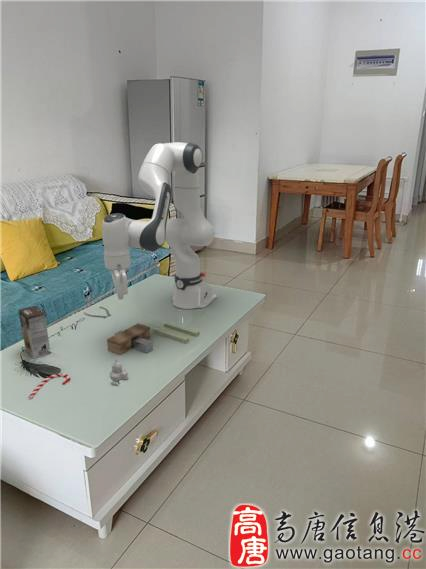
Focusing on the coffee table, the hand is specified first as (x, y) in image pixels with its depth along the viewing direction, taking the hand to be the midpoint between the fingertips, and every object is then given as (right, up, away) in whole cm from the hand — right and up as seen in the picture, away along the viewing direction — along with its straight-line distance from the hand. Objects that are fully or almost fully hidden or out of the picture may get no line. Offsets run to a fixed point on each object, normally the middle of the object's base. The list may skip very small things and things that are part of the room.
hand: (120, 298), depth 156 cm
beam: (+2, -19, +5) cm, 19 cm away
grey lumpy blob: (+3, -26, -16) cm, 31 cm away
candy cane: (-19, -28, -19) cm, 38 cm away
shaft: (+4, -17, +4) cm, 18 cm away
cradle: (+19, -16, +13) cm, 28 cm away
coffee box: (-31, -20, +3) cm, 37 cm away
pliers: (-13, -9, +34) cm, 37 cm away
